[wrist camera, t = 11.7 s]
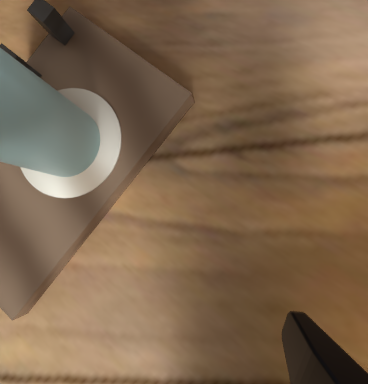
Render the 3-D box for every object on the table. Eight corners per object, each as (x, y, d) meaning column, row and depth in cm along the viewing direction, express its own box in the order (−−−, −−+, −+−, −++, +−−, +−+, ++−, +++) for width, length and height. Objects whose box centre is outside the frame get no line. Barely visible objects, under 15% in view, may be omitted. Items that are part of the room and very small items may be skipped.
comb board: (27, 313, 20) (-20, 335, 17) (-69, 212, 23) (-131, 210, 19) (194, 102, 20) (186, 73, 16) (80, 20, 22) (48, -23, 18)
